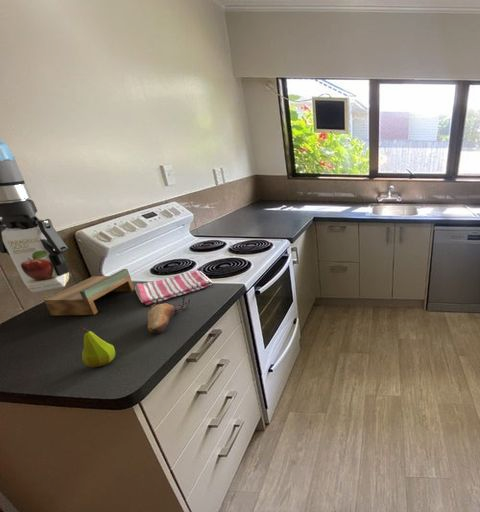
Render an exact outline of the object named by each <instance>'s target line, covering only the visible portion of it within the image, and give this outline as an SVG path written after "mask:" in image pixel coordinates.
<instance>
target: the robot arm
mask: <svg viewBox="0 0 480 512" xmlns="http://www.w3.org/2000/svg"><path fill="white" fill-rule="evenodd" d="M36 206H37V205H36V204H35V202H34V200H32V199H31V194H30V191H29V189H28V187H27V185H26V182H25V180H24V177H23V175H22V173H21V170H20V168H19V165H18V163H17V160H16V157H15V155H14V154H13V153H12V150H11V149H10V147H9V145H8V144H7V143H6V142H4V141H1V140H0V253H1V254H7V255H8V256H10V254H9V252H8V250H7V248H6V246H5V244H4V242H3V239H2V231H3V230H5V229H6V228H9V229H13V228H20V229H22V230H23V229H29V228H34V227H39V228H40V230H41V232H42V233H43V234H44V236H45V237H46V239H47V240H45V239H40V240H41V242H42V244H43V246H44V248H45V249H46V250H47V251H48V252H49V253H50V255H49V258H50V260H51V263H52V265H53V267H54V269H55V271H56V274H57V276H61V275H63V274H66V273H68V272H69V273H70V271H69V269H68V267H67V264H66V262H67V260H66V258H65V256H64V252H67V251H69V247H68V246H67V244H66V243H65V242H64V240H63V239H62V237H61V236H60V234H59V233H58V232H57V230H56V229H55V228H54V226H53V222H52V220H51V219H49V218H46V219H40V218H38V217H37V215H36V214H37V212H38V209H37V207H36Z"/></svg>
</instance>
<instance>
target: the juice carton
mask: <svg viewBox="0 0 480 512" xmlns="http://www.w3.org/2000/svg"><path fill="white" fill-rule="evenodd" d="M2 239H3V242H4V244H5V246H6V247H5V248H7V250H8V252H9V254H10V255H9V256H10V258H11V261H12V262H13V264H14V266H15V268H16V270H17V272H18V274H19V277H20V278H21V281H22V282H23V284H24V285H25V286H26V288H27V289H28V290H29V291H30V292H31V293H37V292H43V291H48V290H54V289H59V288H63V287H64V288H65V286H66V285H67V284H68V282H69V279H70V271H69V272H68V273H66V274H63V275H61V276H57V274H56V271H55V269H54V267H53V265H52V263H51V260H50V258H49V255H50V253H49V252H48V251H47V250H46V249H45V248H44V246H43V244H42V242H41V240H40V239H45V240H47V239H46V237H45V236H44V234H43V233H42V232H41V230H40V228H39V227H34V228H29V229H23V230H22V229H20V228H13V229H9V228H6V229H5V230H3V231H2Z"/></svg>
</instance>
